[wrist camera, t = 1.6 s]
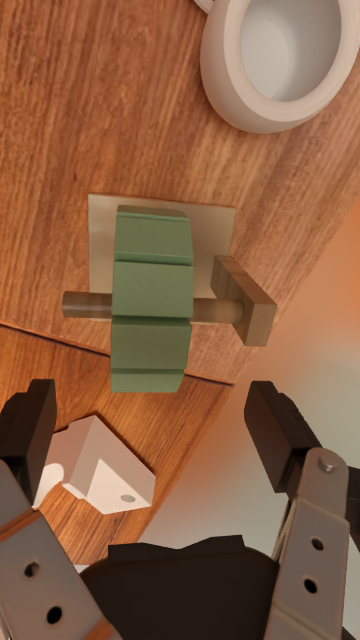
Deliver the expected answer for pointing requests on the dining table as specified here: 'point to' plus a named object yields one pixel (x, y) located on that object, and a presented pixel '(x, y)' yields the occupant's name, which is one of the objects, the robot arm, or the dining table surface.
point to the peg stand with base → (209, 265)
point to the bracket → (96, 468)
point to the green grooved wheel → (151, 299)
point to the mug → (276, 59)
